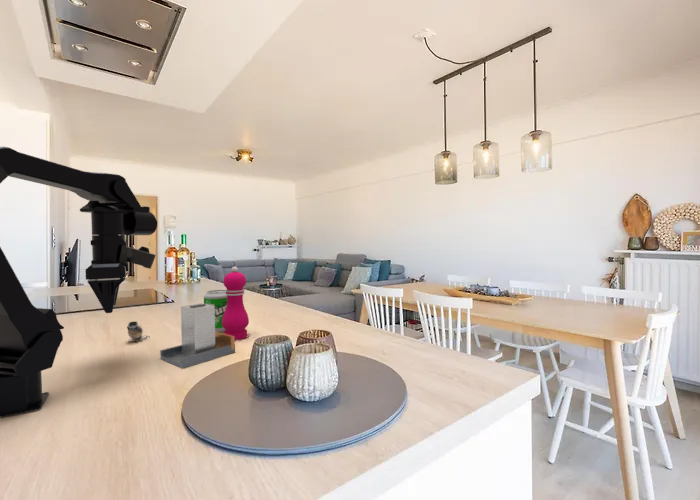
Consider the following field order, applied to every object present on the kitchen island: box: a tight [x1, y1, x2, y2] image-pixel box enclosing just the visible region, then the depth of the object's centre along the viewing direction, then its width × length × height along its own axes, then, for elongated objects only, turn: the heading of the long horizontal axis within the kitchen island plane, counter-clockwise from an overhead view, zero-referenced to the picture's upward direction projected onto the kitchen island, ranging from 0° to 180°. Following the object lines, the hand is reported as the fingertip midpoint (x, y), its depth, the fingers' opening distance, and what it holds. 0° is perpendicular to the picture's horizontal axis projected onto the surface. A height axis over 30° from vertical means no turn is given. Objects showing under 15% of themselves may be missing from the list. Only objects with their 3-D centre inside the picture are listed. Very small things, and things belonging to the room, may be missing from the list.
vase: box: [126, 321, 151, 342], centre depth 94 cm, size 5×5×6 cm
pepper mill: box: [222, 266, 250, 341], centre depth 97 cm, size 7×7×20 cm
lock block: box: [180, 302, 215, 356], centre depth 82 cm, size 5×6×11 cm
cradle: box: [159, 331, 236, 369], centre depth 83 cm, size 13×10×4 cm
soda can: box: [203, 289, 227, 333], centre depth 105 cm, size 8×8×12 cm
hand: (110, 308), depth 74 cm, fingers open, 9 cm apart
